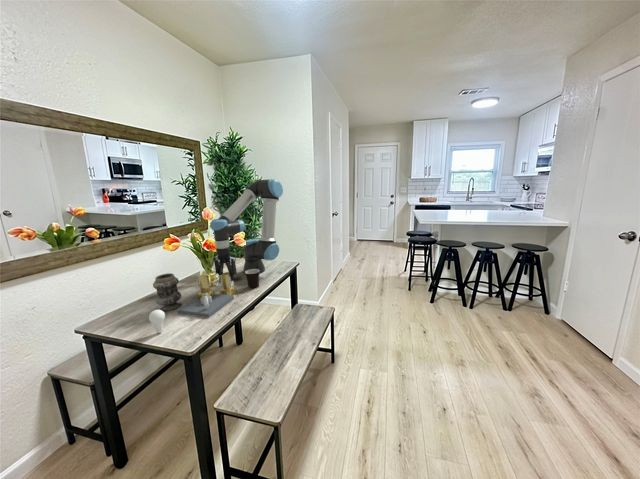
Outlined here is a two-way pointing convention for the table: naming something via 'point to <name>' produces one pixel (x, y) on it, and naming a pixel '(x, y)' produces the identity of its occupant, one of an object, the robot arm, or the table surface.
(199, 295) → the seated planet gear
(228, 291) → the gear
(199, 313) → the carrier plate
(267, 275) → the table surface
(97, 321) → the table surface
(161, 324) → the lightbulb
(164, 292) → the apothecary jar
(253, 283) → the coffee mug
